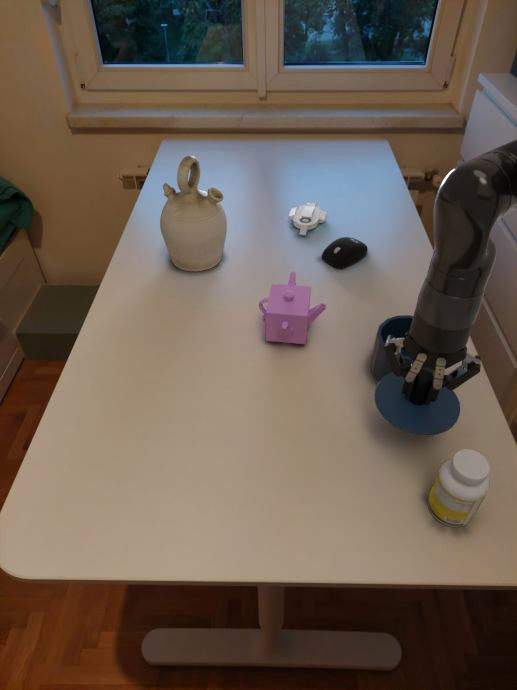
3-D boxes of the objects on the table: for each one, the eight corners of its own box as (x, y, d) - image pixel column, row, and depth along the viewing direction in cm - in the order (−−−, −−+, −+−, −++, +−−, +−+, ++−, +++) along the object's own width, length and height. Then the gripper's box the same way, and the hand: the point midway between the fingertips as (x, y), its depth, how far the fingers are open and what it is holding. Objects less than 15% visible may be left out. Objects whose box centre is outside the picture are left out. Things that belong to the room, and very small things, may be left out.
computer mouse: (374, 254, 123) (377, 240, 120) (339, 272, 118) (341, 257, 115) (352, 241, 127) (354, 227, 125) (317, 258, 122) (319, 244, 119)
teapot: (321, 366, 95) (325, 327, 89) (252, 359, 97) (251, 321, 90) (325, 306, 108) (329, 269, 102) (264, 302, 110) (264, 264, 103)
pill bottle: (463, 487, 76) (486, 441, 68) (479, 527, 72) (506, 483, 64) (421, 489, 76) (439, 444, 68) (434, 530, 71) (456, 486, 63)
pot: (438, 357, 97) (449, 323, 91) (430, 401, 89) (442, 367, 83) (377, 342, 100) (384, 309, 94) (364, 383, 92) (371, 350, 86)
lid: (461, 386, 80) (473, 357, 76) (454, 448, 72) (467, 419, 67) (382, 366, 84) (388, 337, 79) (366, 423, 75) (372, 394, 71)
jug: (241, 253, 124) (237, 153, 107) (199, 283, 115) (188, 179, 98) (195, 234, 131) (185, 137, 113) (152, 261, 122) (134, 160, 104)
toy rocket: (294, 205, 142) (294, 197, 140) (328, 209, 140) (329, 201, 138) (283, 234, 130) (283, 226, 129) (320, 238, 129) (320, 230, 127)
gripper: (387, 314, 64) (367, 402, 76) (503, 340, 60) (463, 428, 72) (397, 281, 69) (377, 369, 81) (504, 303, 66) (467, 391, 77)
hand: (418, 396), depth 77 cm, fingers closed on lid, 2 cm apart
